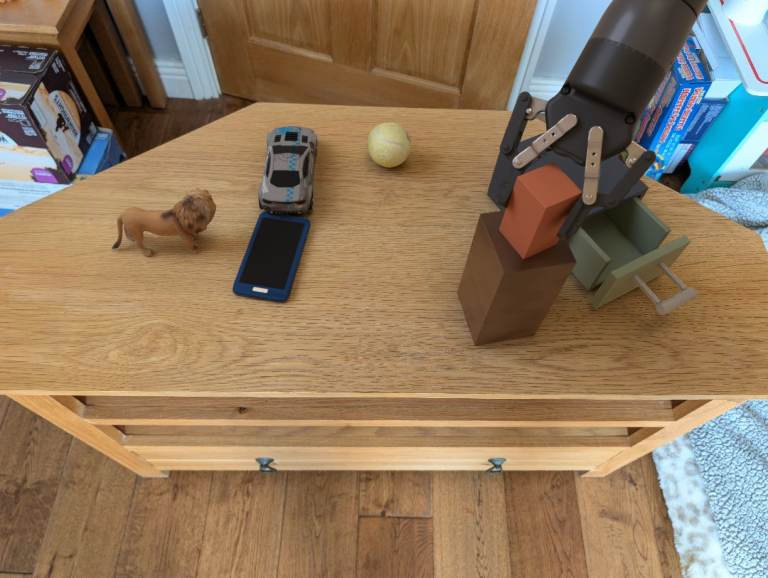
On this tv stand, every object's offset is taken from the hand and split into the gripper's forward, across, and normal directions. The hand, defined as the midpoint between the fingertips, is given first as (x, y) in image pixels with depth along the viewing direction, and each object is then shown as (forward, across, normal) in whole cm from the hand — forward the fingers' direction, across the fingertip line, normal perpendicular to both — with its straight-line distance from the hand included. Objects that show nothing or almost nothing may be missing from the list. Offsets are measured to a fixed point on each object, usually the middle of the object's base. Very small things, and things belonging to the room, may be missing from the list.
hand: (531, 221), depth 54 cm
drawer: (+2, +9, +26) cm, 27 cm away
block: (+2, 0, +4) cm, 5 cm away
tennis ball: (+4, -27, +25) cm, 37 cm away
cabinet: (-1, -2, +30) cm, 30 cm away
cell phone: (+21, -28, +8) cm, 36 cm away
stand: (+13, 0, +16) cm, 20 cm away
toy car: (+12, -36, +17) cm, 42 cm away
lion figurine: (+25, -41, +4) cm, 48 cm away
